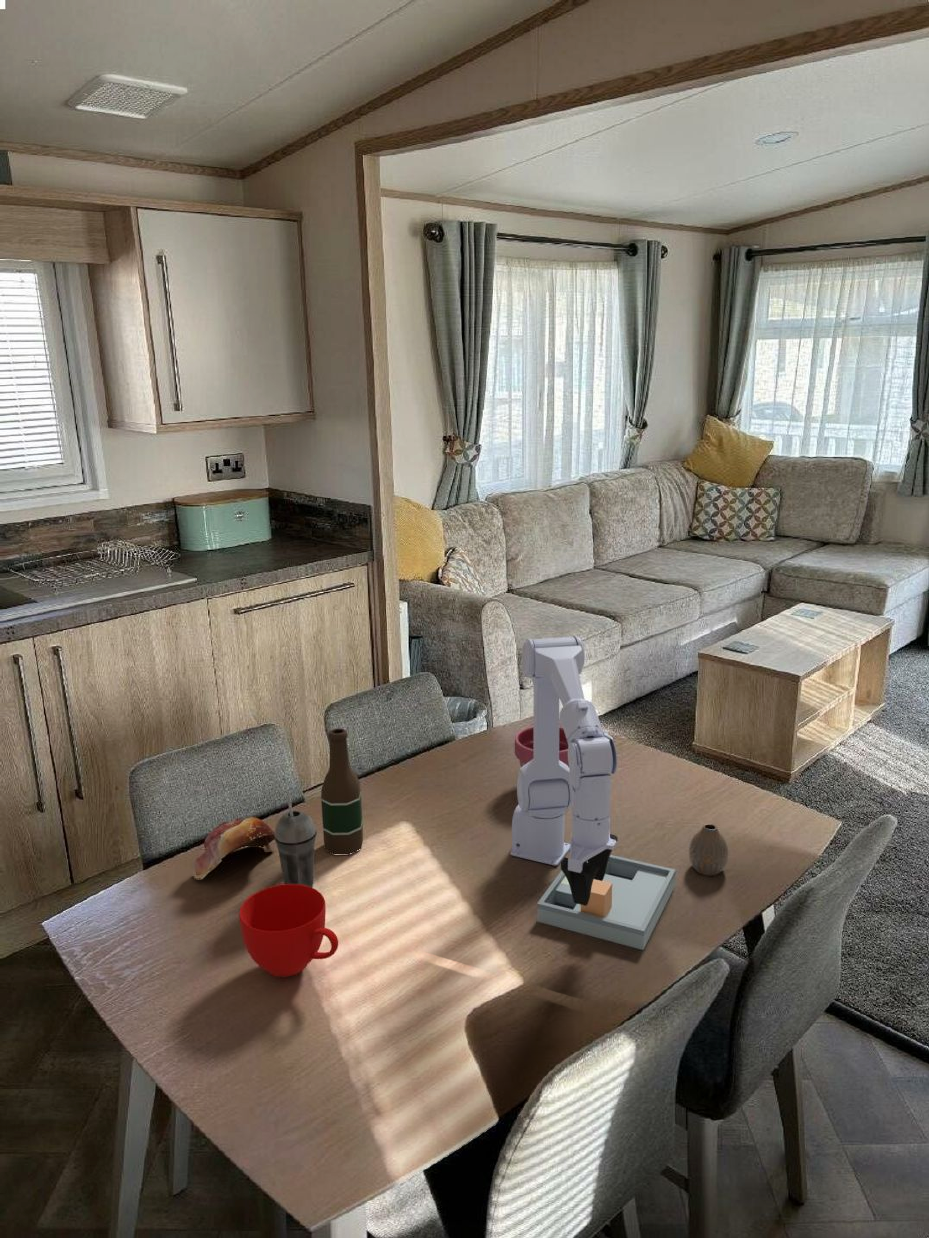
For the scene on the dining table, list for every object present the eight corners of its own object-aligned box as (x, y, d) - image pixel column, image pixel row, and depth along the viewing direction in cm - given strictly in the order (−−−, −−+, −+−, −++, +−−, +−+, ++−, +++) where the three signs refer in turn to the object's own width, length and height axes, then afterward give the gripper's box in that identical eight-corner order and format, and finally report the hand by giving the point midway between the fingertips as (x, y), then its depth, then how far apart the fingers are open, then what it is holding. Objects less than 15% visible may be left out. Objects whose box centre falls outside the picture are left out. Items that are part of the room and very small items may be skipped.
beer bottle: (316, 852, 173) (308, 735, 166) (336, 833, 180) (330, 720, 173) (352, 859, 170) (345, 741, 164) (371, 840, 177) (366, 726, 170)
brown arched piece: (259, 840, 178) (255, 794, 175) (293, 865, 169) (289, 816, 166) (183, 870, 168) (178, 821, 165) (214, 898, 158) (209, 846, 156)
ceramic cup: (310, 1011, 130) (305, 950, 127) (226, 972, 139) (220, 915, 136) (365, 962, 140) (362, 905, 138) (284, 929, 149) (280, 875, 146)
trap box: (537, 921, 150) (537, 903, 149) (578, 863, 167) (578, 847, 166) (643, 950, 142) (644, 931, 141) (674, 886, 159) (675, 869, 159)
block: (580, 913, 148) (581, 889, 146) (588, 901, 151) (589, 877, 150) (604, 919, 146) (604, 895, 145) (611, 907, 149) (612, 883, 148)
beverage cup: (328, 887, 161) (322, 784, 156) (305, 908, 155) (297, 802, 149) (294, 878, 164) (287, 777, 159) (270, 899, 158) (261, 794, 152)
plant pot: (583, 807, 189) (584, 750, 185) (516, 808, 189) (515, 751, 186) (576, 777, 203) (577, 724, 199) (513, 778, 203) (513, 725, 199)
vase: (728, 882, 161) (731, 837, 158) (688, 878, 162) (691, 834, 160) (725, 862, 167) (728, 819, 165) (687, 858, 169) (689, 816, 166)
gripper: (601, 838, 130) (598, 921, 134) (629, 797, 143) (627, 873, 146) (555, 828, 133) (554, 909, 137) (587, 788, 146) (585, 864, 149)
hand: (588, 890), depth 142 cm, fingers open, 7 cm apart
